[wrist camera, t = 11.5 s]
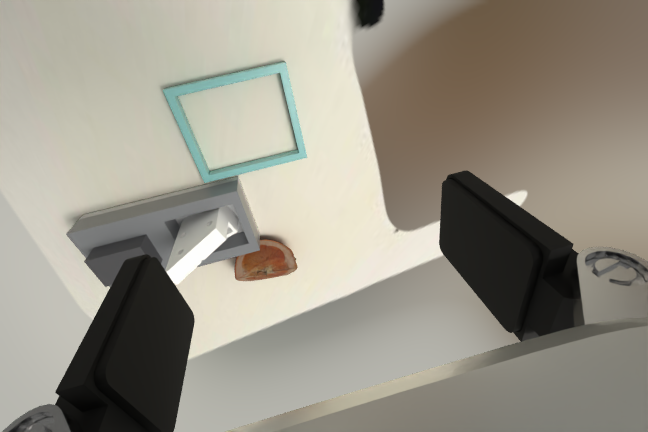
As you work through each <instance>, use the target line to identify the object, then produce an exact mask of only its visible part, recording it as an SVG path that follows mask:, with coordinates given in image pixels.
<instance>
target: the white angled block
mask: <svg viewBox="0 0 648 432" xmlns="http://www.w3.org/2000/svg"><path fill="white" fill-rule="evenodd" d="M238 219H239V218H238V217H237V216H236V215H235V214H234V212H233V211H232V210H231V209H230V208H229V207H228V206H224V207H220V208H216V209H212V210H208V211H204V212H200V213H196V214H193V215H190V216H188V217H186V218H185V219H183V220H182V223H181V226H180V229H179V232H178V235H177V237H176V240H175V243H174V246H173V249H172V252H171V255H170V258H169V261H168V264H167V267H166V269H165V271H166V272H167V274H168V275H169V277H170V278H171V280H172V281H173V282H174V283H175V284H176V285H178V284H179V283H180V282H181V281H182V280H183V279H184V278H185V277H186V276H187V275H188V274H190V273H191V272H192V271H193V270H194V269H195V268H196V267H197V266H198V265H199V264H200V263H201V262H202V260H205V259H206V258H207V257H208V256H209V255H210V254H211V253H212V252H213V251H215V250H216V249H217V248H218V247H219V246H220V245H221V244H222V243H223V242H224V241H225V240H226V239H227V238H228V237H230V236H231V235H233V234H235V233H237V232H238Z"/></svg>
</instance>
